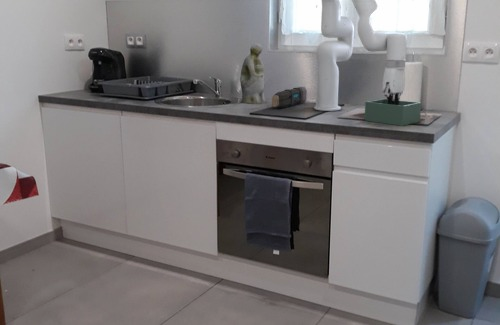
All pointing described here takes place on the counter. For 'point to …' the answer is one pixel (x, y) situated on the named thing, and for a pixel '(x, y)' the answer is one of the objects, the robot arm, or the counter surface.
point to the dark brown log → (289, 97)
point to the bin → (392, 112)
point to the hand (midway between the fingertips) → (392, 109)
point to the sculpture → (253, 77)
